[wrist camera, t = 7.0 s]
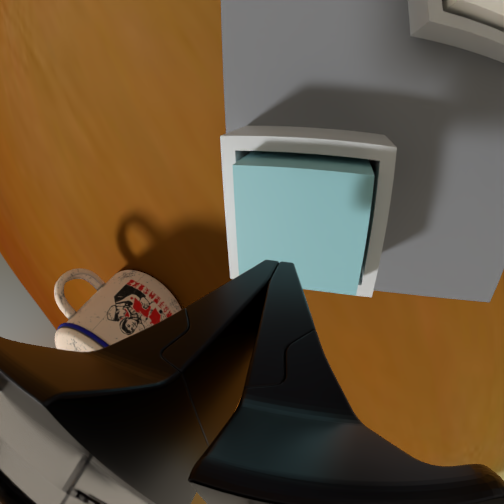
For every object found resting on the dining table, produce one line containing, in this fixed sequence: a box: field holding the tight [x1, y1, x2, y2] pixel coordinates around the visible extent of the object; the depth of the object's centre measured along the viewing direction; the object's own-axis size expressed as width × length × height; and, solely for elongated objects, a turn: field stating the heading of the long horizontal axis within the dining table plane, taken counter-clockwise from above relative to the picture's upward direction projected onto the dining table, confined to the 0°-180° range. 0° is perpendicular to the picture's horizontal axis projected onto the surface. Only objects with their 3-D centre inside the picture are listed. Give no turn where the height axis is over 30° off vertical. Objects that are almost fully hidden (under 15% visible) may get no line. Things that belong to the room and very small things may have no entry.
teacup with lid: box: [54, 269, 181, 352], centre depth 23 cm, size 12×9×12 cm
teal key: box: [232, 151, 375, 295], centre depth 13 cm, size 5×5×3 cm
